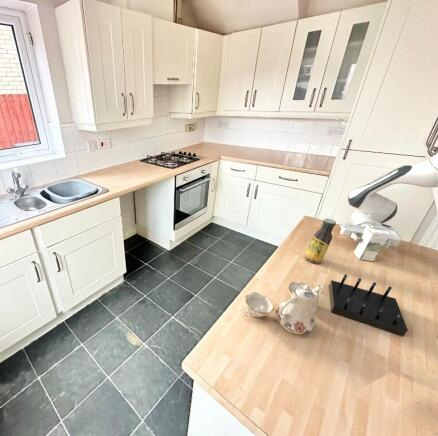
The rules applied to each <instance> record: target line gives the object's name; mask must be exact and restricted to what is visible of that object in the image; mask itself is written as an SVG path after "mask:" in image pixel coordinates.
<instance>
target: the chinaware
mask: <svg viewBox="0 0 438 436" xmlns="http://www.w3.org/2000/svg"><path fill="white" fill-rule="evenodd" d="M287 289H288V292H289V295H290V298H288V299H287V300H286V301H282V302H281V303H280V304H279V305H278V308H277V309H276V310H275V307H274V305H273V303H272V300H271V299H270V297H268V296H267V295H262V294H261V293H259V292H256V291H254V292H251V293H249V294H246V295H245V296H244V300H245V301H244V302H245V304H246V309H245V311H244V314H243V315H244V316H245V317H248V316H250V317H253V318H259V319H261V318H263V317H265V316H267V315H268V314H269V313H272V311H274V310H275V311H274V312H275V315H276V316H277V321H278V324H279V325H280V327H281V328H282V329H284V330H285V331H286V332H288V333H290V334H293V335H295V336H296V335H297V336H303V335H305V334H308V333H311V332H312V331H313V328H314V326H315V325H316V319H315V317H314V313H315V312H316V311H317V308H318V305H319V304H318V303H319V298H320V297H319V294H320V291H321V290H322V289H323V286H322V285H317V286H316V287H315V288H311V286H309V285H308V284H307V283H305V282H298V283H297V281H296V282H295V281H291V282H290V283H289V285H288V288H287ZM248 311H249V313H247V312H248Z"/></svg>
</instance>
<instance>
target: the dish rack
mask: <svg viewBox="0 0 438 436" xmlns="http://www.w3.org/2000/svg"><path fill="white" fill-rule="evenodd" d="M347 277H348V274H344V275H343V277H342V278H341V281H337V280H332V279H331V280H330V282H329V284H328V293H329V306H330V313H331V314H334V315H337V316H340V317H343V318H346V319H349V320H352V321H355V322H358V323H361V324H364V325H367V326H370V327H373V328H376V329H379V330H381V331H384V332H387V333H391V334H393V335H397V336H399V337H404V336H405V335H406V333H407V332H408V331H409V329H408V326H407V324H406V322H405V319H404V316H403V313H402V312H401V309H400V307H399V304H398V301H397V298H395V297H393V296H392V297H391V296H388V295H389V293H390V292H391V290H392V289H393V287H392V286H391V285H389V286H388V287H387V289H386V290H385V292H384V293H383V294H382V293H378V292H374V291H373V290H374V289H375V287H376V285H377V282H376V281H374V282H372V284H371V286H370V287H369V289H368V290H367V289H363V288H361V287H359V285H360V283H361V281H362V278H361V277H358V279H357V281H356V282H355V284H354V286H353V285H350V284H347V283H345V281H346V279H347Z"/></svg>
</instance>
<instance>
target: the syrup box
mask: <svg viewBox="0 0 438 436" xmlns="http://www.w3.org/2000/svg"><path fill="white" fill-rule="evenodd" d="M389 235H390V234H389V233H388V231H387V230H386V229H385V228H383V227H377V226H366V228H365V230H364V232H363V234H362V236H361V239H360V241H359V242H357V244H356V246H355V248H354V250H353V254H354V255H355V256H356V258H357V259H358V260H359V261H367V262H374V263H375V262H376V260H377V258H378V256H379V254H380V253H381V251H382V249H383V248H384V247H383V246H384V244H385V242H386V241H387V239H388V237H389Z"/></svg>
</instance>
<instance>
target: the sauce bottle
mask: <svg viewBox="0 0 438 436" xmlns="http://www.w3.org/2000/svg"><path fill="white" fill-rule="evenodd" d="M336 224H337V221H336V220H334V219H332V218H324V219H323V221H322V224H321V227H320V228H319V229H318V230H317V231H316V232H315V233H314V234H313V236H312V238H311V240H310V242H309V245H308V247H307V249H306V252H305V256H304V258H305V260H306V261H307V262H309V263H312V264H320V263H321V262H322V261H323V259H324V258H325V255H326V253H327V251H328V249H329V247H330V245H331V242H332V240H333V233H332V232H333V229H334V227H335V226H336Z"/></svg>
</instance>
